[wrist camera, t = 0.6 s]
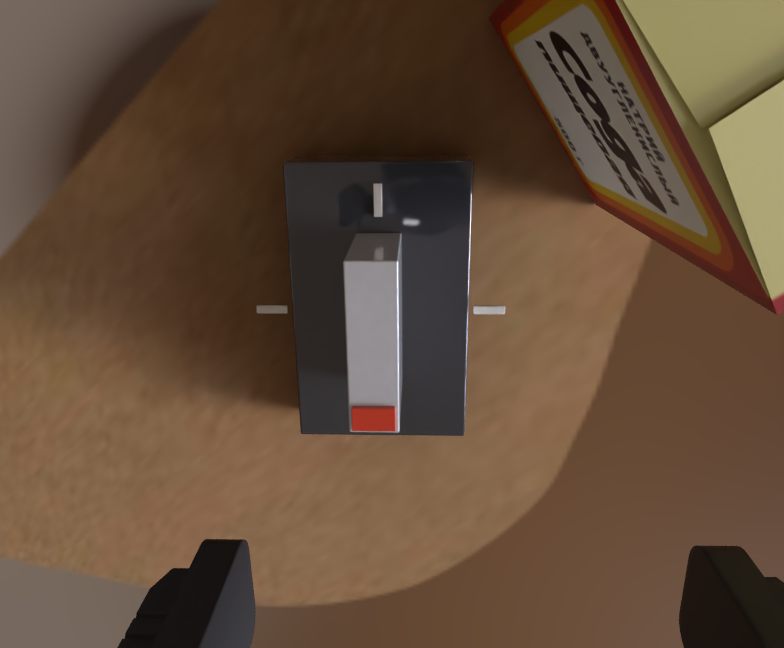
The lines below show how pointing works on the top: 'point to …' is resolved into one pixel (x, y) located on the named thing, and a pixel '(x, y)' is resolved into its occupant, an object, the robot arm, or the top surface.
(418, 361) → the rotary selector switch
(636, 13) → the baking soda box
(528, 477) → the top surface
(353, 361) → the white rectangular block
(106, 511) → the top surface
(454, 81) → the top surface
